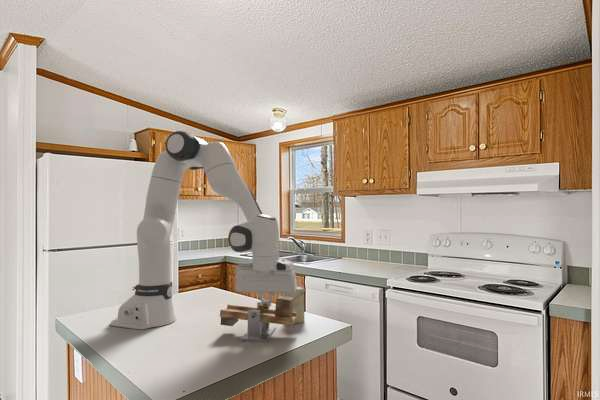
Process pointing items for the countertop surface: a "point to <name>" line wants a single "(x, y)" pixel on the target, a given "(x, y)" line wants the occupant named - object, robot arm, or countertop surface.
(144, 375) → the countertop surface
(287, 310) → the block
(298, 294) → the skincare box
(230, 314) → the beam
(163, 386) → the countertop surface
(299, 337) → the countertop surface
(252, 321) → the pivot stand
